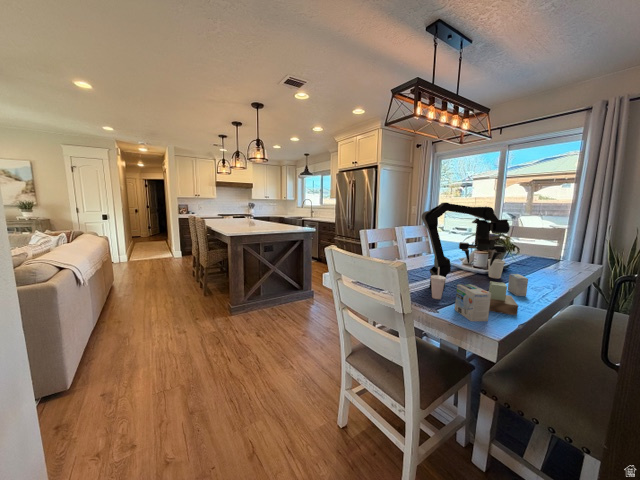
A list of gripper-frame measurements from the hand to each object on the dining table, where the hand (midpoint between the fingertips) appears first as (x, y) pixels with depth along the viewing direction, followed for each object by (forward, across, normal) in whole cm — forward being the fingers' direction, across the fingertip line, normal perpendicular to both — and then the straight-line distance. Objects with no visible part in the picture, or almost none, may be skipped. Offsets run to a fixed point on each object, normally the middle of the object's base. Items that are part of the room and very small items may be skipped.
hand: (479, 264), depth 126 cm
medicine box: (+13, +17, +4) cm, 22 cm away
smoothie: (+13, -18, -21) cm, 30 cm away
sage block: (+9, +5, -21) cm, 23 cm away
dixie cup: (+13, +12, +32) cm, 37 cm away
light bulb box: (+13, -5, -35) cm, 38 cm away
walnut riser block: (+13, +5, -21) cm, 25 cm away
